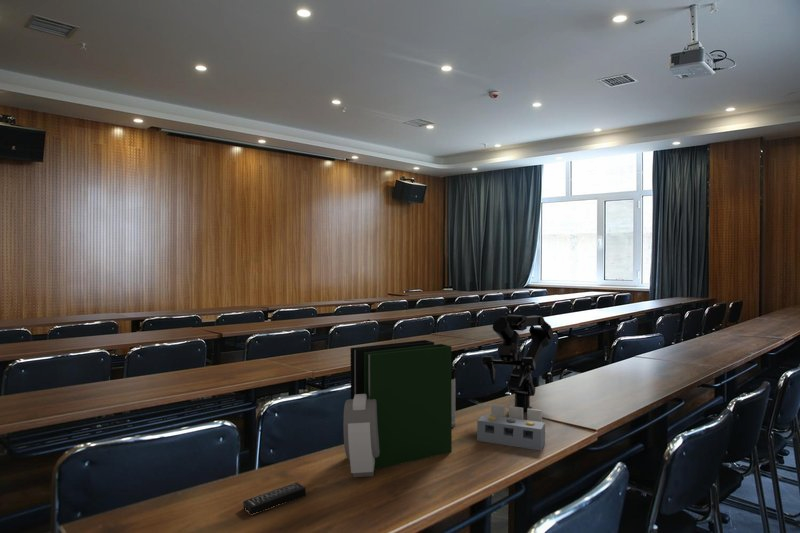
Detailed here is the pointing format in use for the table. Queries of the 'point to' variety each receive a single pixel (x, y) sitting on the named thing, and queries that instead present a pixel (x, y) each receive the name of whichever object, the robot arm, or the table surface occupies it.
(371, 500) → the table surface
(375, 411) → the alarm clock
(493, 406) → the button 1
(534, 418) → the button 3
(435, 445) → the binder
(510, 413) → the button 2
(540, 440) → the console
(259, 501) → the multiport hub
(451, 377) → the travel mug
